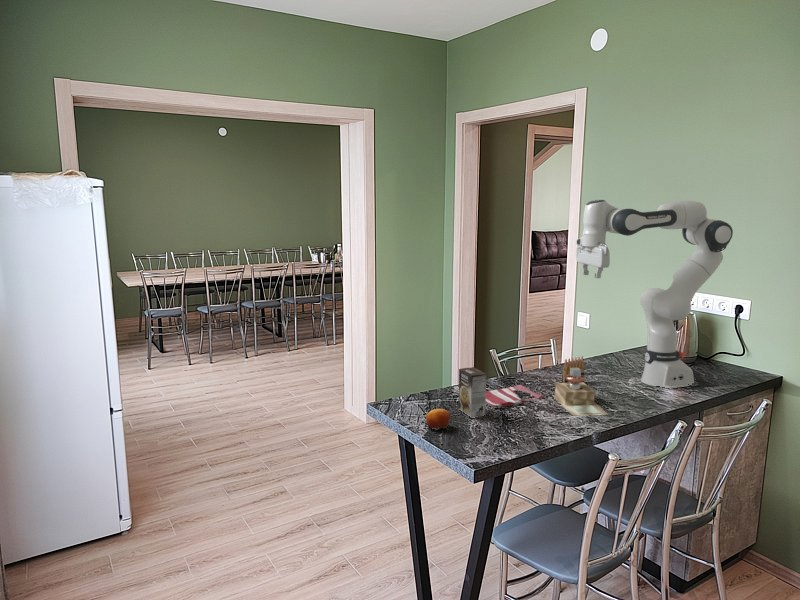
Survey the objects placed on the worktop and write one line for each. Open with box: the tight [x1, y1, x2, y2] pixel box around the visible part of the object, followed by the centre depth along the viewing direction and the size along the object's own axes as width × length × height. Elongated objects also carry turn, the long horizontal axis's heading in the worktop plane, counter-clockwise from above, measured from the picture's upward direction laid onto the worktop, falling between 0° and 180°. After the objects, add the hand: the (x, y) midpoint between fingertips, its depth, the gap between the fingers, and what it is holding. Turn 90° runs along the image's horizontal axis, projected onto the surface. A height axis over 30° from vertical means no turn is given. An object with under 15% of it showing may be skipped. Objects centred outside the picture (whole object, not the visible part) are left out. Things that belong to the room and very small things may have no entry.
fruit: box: [425, 408, 451, 429], centre depth 202 cm, size 8×8×8 cm
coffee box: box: [458, 367, 487, 417], centre depth 214 cm, size 9×6×16 cm
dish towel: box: [486, 384, 545, 409], centre depth 231 cm, size 17×23×3 cm
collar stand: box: [552, 381, 609, 417], centre depth 221 cm, size 13×22×6 cm, turn 5°
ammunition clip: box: [561, 355, 585, 383], centre depth 246 cm, size 11×2×12 cm, turn 117°
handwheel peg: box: [566, 368, 586, 390], centre depth 225 cm, size 7×7×12 cm
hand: (591, 276), depth 237 cm, fingers open, 8 cm apart
